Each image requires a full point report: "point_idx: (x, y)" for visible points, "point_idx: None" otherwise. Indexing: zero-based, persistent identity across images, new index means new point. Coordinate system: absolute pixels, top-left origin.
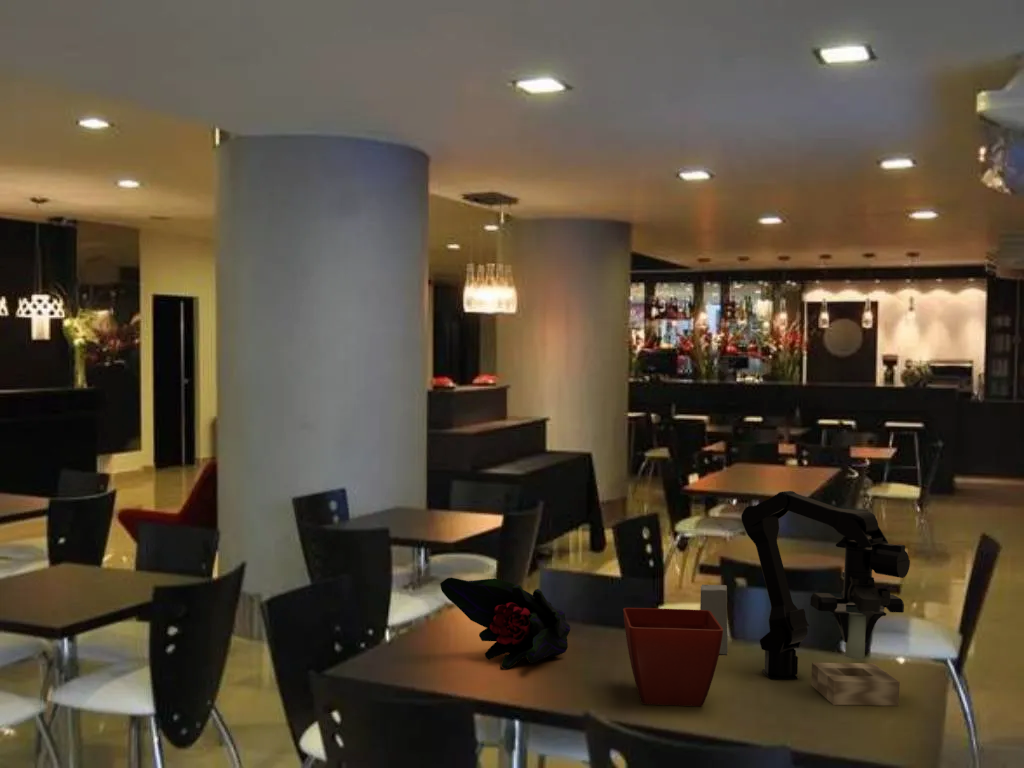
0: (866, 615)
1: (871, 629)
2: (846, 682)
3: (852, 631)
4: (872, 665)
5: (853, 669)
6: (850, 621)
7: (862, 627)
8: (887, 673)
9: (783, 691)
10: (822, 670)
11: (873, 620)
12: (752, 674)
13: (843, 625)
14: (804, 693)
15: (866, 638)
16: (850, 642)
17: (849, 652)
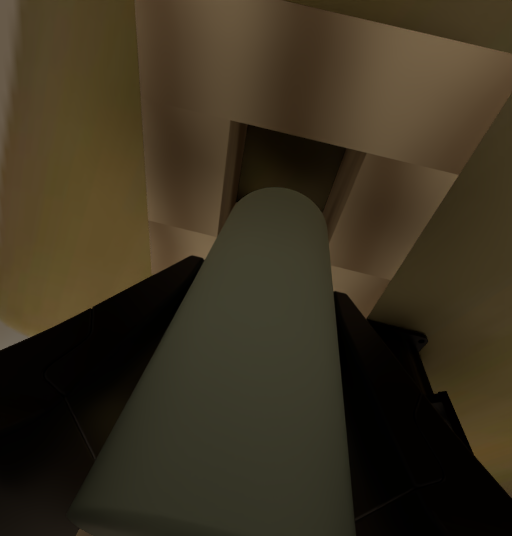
0: (63, 498)
1: (110, 306)
2: (453, 41)
3: (327, 330)
4: (164, 258)
5: None
6: (345, 459)
7: (216, 333)
8: (145, 152)
9: (492, 251)
10: (406, 247)
11: (2, 390)
12: (431, 367)
13: (437, 421)
14: (442, 220)
15: (187, 271)
16: (328, 270)
17: (326, 236)
